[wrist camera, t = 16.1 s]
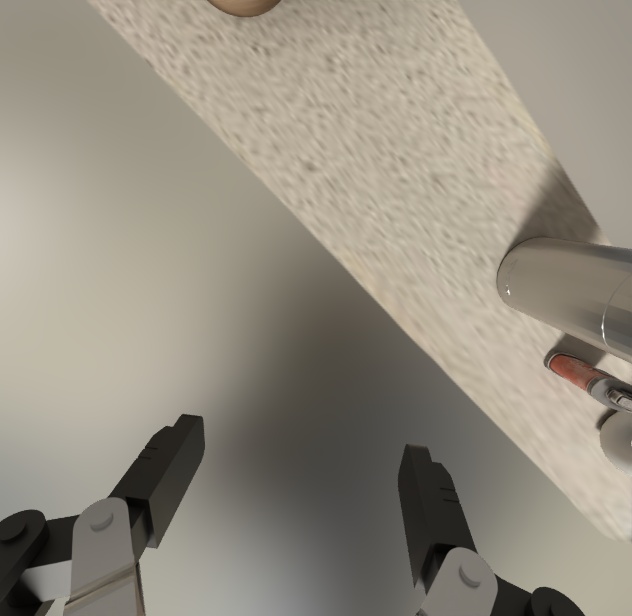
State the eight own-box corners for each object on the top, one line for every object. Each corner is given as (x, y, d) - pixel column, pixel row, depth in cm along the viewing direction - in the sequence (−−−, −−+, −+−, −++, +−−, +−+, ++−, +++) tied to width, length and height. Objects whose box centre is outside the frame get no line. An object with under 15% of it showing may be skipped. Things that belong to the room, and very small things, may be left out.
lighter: (596, 365, 45) (678, 408, 36) (582, 385, 46) (658, 432, 37) (552, 345, 44) (626, 385, 34) (538, 366, 44) (606, 411, 35)
